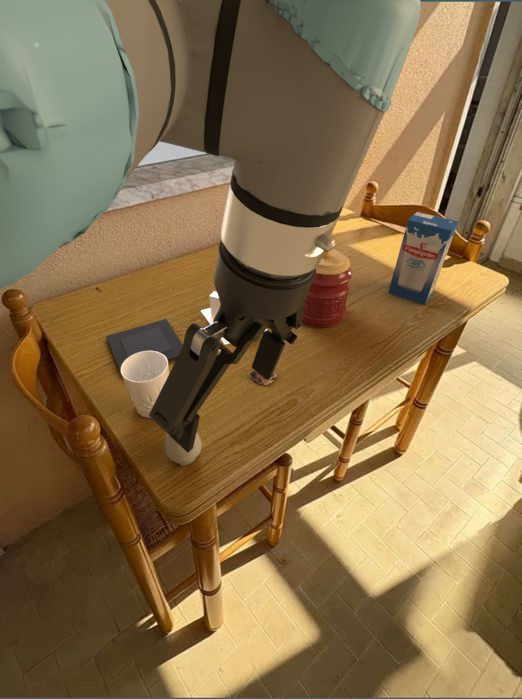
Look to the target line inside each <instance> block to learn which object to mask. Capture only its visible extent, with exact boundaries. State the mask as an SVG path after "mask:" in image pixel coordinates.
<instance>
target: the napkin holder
mask: <svg viewBox="0 0 522 699" xmlns="http://www.w3.org/2000/svg"><path fill="white" fill-rule="evenodd" d="M208 298H209V307H208V308H204V309H201V310H200V312H201V313H202V315H203V316H204V318H205V319H206V321H207V322H208V323H209V325H211V324H213V320H214V317H215V315H216V314H217V312H218V310H219V307H220V300H219V297H218V294H217V291H216V290H213V291H212V292H211V294H209V295H208ZM266 330H268V328H267V329H266ZM266 330H265V331H266ZM220 340H221V342H222V343H223V345H224V346H225V345H229V344H230V343H229V342H228V341H227V340H225V339H224V338H223V337H222V338H221V339H220Z"/></svg>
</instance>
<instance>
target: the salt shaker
mask: <svg viewBox="0 0 522 699" xmlns="http://www.w3.org/2000/svg"><path fill="white" fill-rule="evenodd" d="M202 446H203V442H202V440H201V437H200V434H199V433H198V432H197V433H196V437H195V442H194V447H193V449H192V450H191V451H190V452H188V453H187V452H186V451H185V450H184V449H183V448H182V447H181V446H180V445H179V444H178V443H177V442H176V441H175V440H174V439H172V438H171V437H170V435H169V434H168V433H167V432H165V445H164V447H165V448H164V449H165V452H166V456H167V457H168V458H169V459H170V460H171V461H172V462H173V463H176V464H178V465H180V466H181V467H184V466H186V465H189V464H192V463H193V464H194V462H195V461H196V459H197V457H198V456H199V455H200V454H201V451H202Z"/></svg>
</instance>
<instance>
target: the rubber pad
mask: <svg viewBox="0 0 522 699" xmlns="http://www.w3.org/2000/svg"><path fill="white" fill-rule="evenodd" d="M105 338H106V340H107V343H108V346H109V349H110V350H111V353H112V356H113V358H114V360H115V363H116V365H117V368H118V370H119V373H120V374H121V371H120V370H121V365H122V364H123V362H124V361H125V360H126V359H127V358H128V357H130V356H131V355H133V354H135V353H138V352H142V351H156V352H159V353H161V354H163V355H164V356H165V357H166V358H167V360H168V363H169V362H172V361H176V359H177V357H178V355H179V353H180V351H181V349H182V347H183V343H182V341H181V340H180V338H179V337H178V335H177V333H176V331H175V330H174V328H173V327H172V325H171V324H170V322H169V320H168V319H167V318H163V319H160V320H156V321H152V322H149V323H147V324H142V325H140V326H135V327H133V328H129V329H126V330H123V331H119V332H116V333H115V332H114V333H112V334H109V335H106V336H105Z"/></svg>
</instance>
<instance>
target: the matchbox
mask: <svg viewBox="0 0 522 699" xmlns="http://www.w3.org/2000/svg"><path fill="white" fill-rule="evenodd" d="M249 376H250V377H251V379H252V380H253V381H255V382H256V383H258V384H259V385H260V384H263V385H265V386H267V385H268V386H269V385H271V384H272V383H273V382H274V379H273V378H275V377H277V374H276V373H275V371H274V372H273V374H272V377H271V378H270V379H269V380H267V379H265V378H264V377H263V376H262V375H260V374H259V373H258V372H257V371H255V370H254V369H253V371H252V372H251V373H250V374H249Z"/></svg>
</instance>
